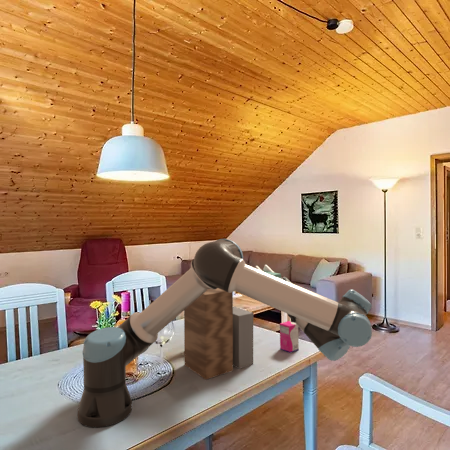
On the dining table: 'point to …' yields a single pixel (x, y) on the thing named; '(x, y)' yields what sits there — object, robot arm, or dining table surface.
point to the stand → (209, 334)
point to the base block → (242, 338)
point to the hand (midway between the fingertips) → (259, 268)
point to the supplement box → (289, 337)
